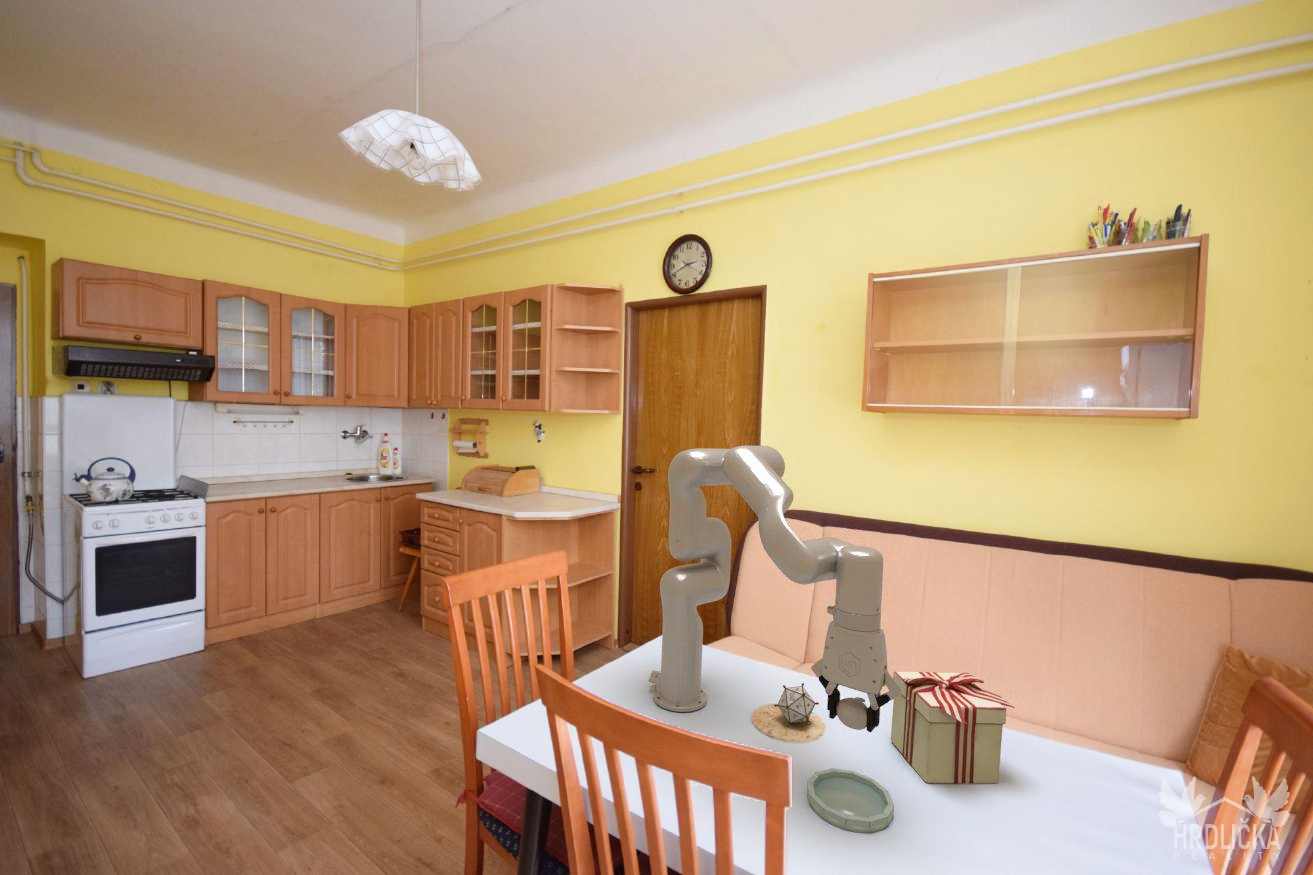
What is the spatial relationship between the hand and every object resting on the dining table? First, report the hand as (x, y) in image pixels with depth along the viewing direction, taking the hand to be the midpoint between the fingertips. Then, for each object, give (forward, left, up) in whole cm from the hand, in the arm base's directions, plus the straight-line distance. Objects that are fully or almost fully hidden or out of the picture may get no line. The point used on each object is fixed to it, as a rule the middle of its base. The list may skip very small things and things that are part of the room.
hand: (852, 721), depth 100 cm
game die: (-19, +20, -15) cm, 31 cm away
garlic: (0, 0, -1) cm, 1 cm away
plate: (0, 0, -15) cm, 15 cm away
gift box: (+11, +25, -15) cm, 31 cm away
